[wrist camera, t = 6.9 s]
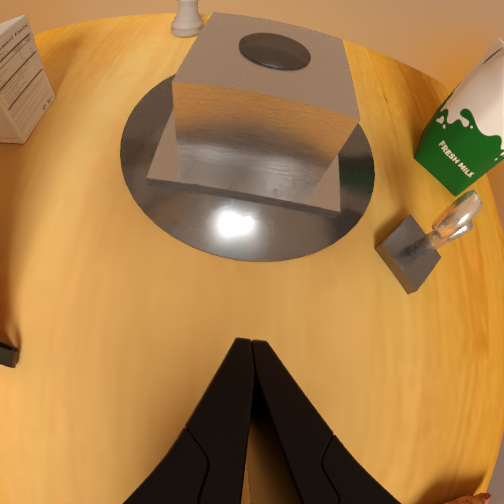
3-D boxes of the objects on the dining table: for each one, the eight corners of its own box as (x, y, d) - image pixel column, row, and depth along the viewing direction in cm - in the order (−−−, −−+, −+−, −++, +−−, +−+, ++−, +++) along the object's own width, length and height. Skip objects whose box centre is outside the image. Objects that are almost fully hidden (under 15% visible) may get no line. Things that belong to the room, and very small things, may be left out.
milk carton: (465, 165, 30) (555, 81, 11) (458, 207, 26) (578, 114, 8) (419, 122, 30) (501, 20, 11) (405, 158, 27) (515, 33, 8)
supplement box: (-12, 144, 20) (-59, 74, 8) (20, 98, 23) (-13, 26, 11) (24, 146, 21) (-27, 60, 9) (58, 96, 23) (28, 10, 11)
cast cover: (334, 218, 23) (394, 153, 14) (148, 186, 21) (126, 100, 13) (328, 99, 28) (359, 36, 19) (193, 73, 26) (196, 2, 18)
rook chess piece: (201, 38, 29) (205, -12, 21) (167, 38, 28) (167, -11, 21) (205, 25, 30) (209, -21, 23) (174, 25, 30) (175, -20, 22)
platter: (225, 329, 19) (225, 329, 19) (86, 116, 23) (85, 116, 23) (411, 176, 26) (412, 175, 26) (268, 46, 30) (269, 45, 30)
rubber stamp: (407, 294, 22) (493, 261, 13) (374, 248, 23) (451, 196, 14) (433, 261, 23) (507, 222, 14) (403, 219, 24) (471, 167, 15)
